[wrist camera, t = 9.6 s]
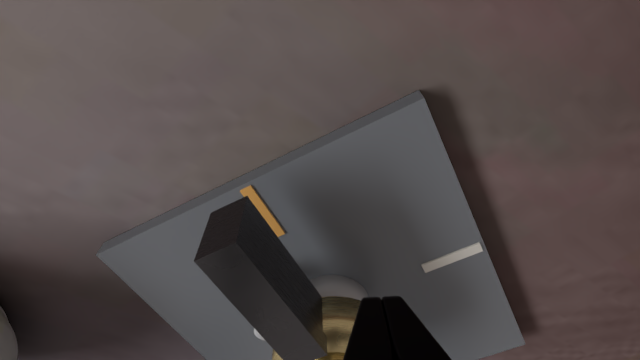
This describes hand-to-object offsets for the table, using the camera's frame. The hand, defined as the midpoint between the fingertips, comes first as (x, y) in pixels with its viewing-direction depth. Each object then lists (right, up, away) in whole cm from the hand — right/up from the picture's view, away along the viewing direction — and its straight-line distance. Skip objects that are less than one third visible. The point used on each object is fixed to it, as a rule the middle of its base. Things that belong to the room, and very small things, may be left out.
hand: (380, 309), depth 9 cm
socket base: (-1, -4, +15) cm, 16 cm away
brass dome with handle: (-2, -3, +11) cm, 12 cm away
